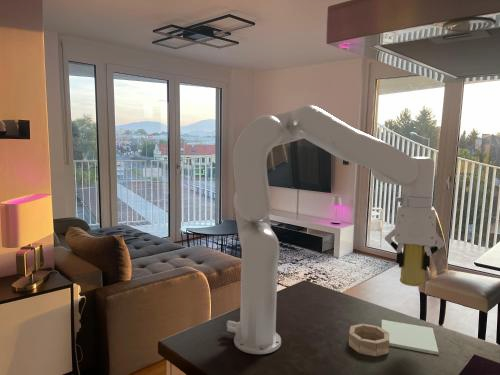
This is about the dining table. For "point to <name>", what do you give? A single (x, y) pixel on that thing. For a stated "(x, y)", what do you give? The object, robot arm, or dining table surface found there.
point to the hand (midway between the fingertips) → (412, 266)
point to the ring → (367, 345)
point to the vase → (412, 265)
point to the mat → (411, 336)
